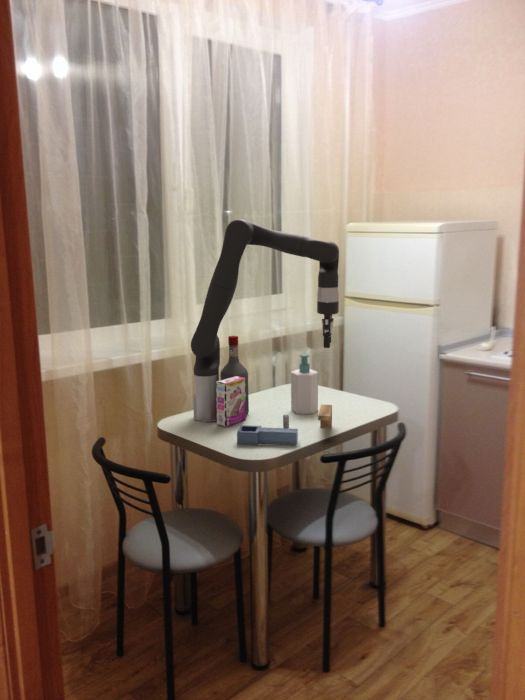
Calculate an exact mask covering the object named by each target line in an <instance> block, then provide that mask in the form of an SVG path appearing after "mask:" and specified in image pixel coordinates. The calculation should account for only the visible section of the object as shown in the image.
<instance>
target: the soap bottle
mask: <svg viewBox="0 0 525 700" xmlns="http://www.w3.org/2000/svg"><path fill="white" fill-rule="evenodd" d="M299 357H300V358H301V361H300V363H299V364H298V365H299V367H298V368H297V369H295V370H291V372H290V398H291V399H290V402H291V403H290V410H291V411H292V412H294V413H296V414H298V415H299V414H301V415H305V414H306V415H311V414H313V413H316V412H317V411H318V410H319V371H316V370H314V369H312V368H310V363H309V362H308V358H309V357H310V354H308V353H302V354H299ZM315 411H316V412H315Z"/></svg>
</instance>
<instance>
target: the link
mask: <svg viewBox="0 0 525 700" xmlns="http://www.w3.org/2000/svg"><path fill="white" fill-rule="evenodd" d="M298 433H299V430H298V428H290V427H289V428H283V427H262V425H249V424H247V425H246V424H241V425H240V426H239V428H238V429H237V431H236V444H237V446H251V447H253V446H254V447H255V446H256V447H259V445H265V446H267V445H269V446H271V445H272V446H289V447H291V446H295V447H296V446H298V445H297V444H298V438H299V435H298Z"/></svg>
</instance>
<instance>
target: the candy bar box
mask: <svg viewBox="0 0 525 700" xmlns="http://www.w3.org/2000/svg"><path fill="white" fill-rule="evenodd" d="M245 383H246V378H243V377H238V376H235V377H231V378H228V379H224V380H220V379H219V381H217V382H216V402H217V403H216V404H217V405H216V408H217V420H216V425H217V426H219V427H222V428H228V427H230V426H233V425H236V424H239V423H241V422H244V421H246V420H247V418H246V415H247V414H246V398H245V396H246V386H245V385H246V384H245Z"/></svg>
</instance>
